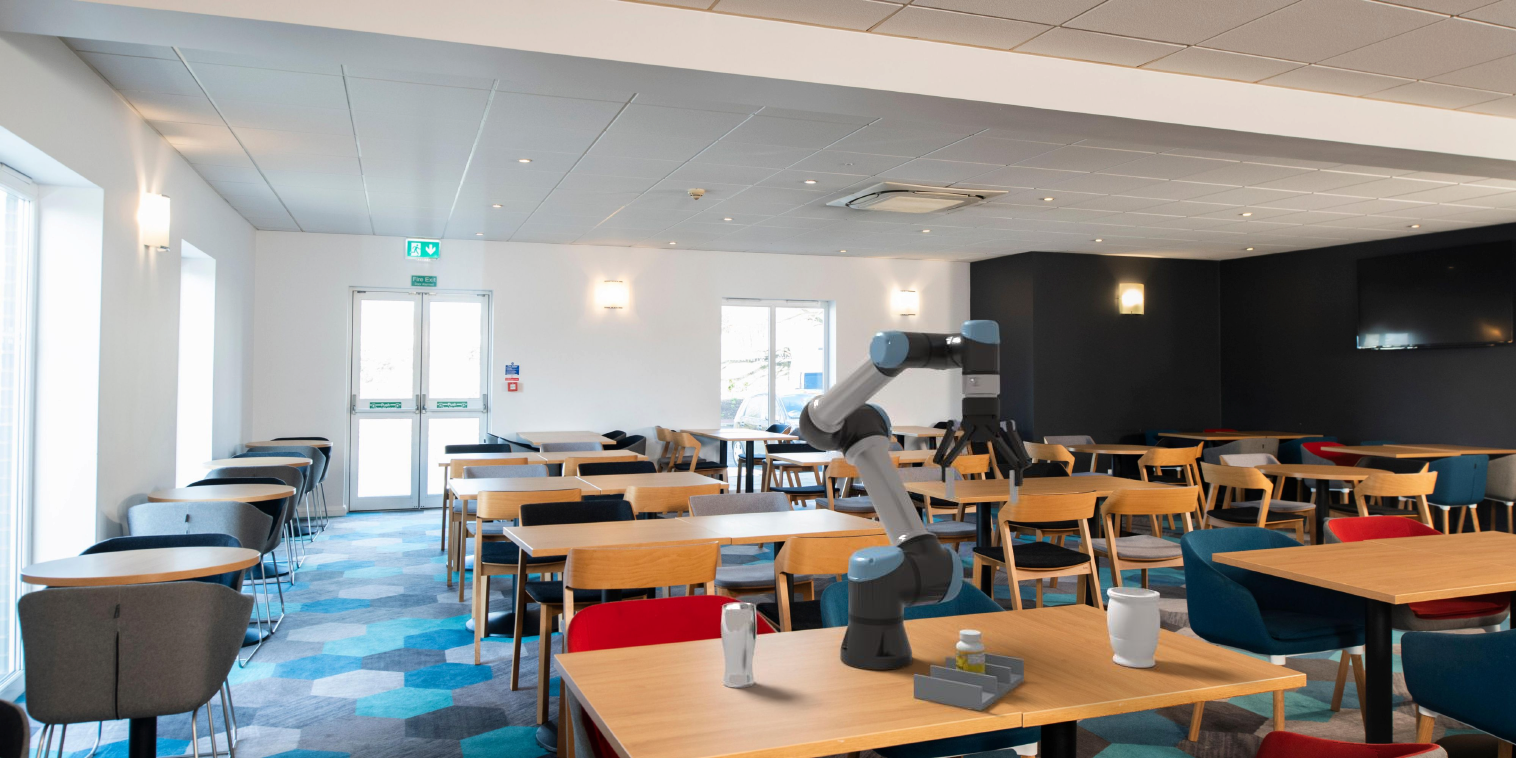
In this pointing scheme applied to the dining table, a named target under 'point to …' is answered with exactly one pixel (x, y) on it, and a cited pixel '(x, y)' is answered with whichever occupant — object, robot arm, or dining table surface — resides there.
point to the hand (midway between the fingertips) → (981, 501)
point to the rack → (970, 682)
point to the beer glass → (738, 643)
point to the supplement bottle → (970, 652)
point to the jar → (1133, 625)
